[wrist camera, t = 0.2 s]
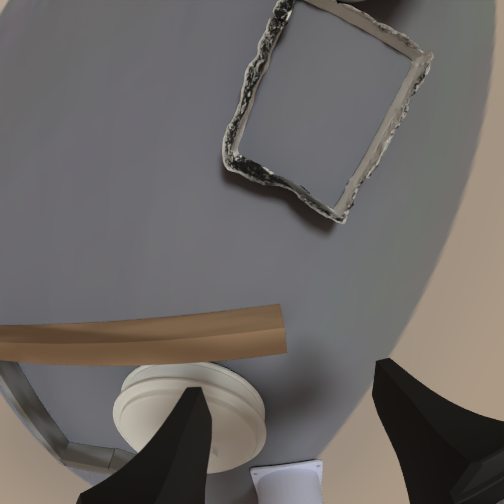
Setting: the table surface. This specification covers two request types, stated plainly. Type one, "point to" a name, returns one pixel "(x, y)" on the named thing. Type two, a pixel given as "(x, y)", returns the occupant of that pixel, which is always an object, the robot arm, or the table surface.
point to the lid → (218, 400)
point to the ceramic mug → (350, 0)
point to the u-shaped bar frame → (127, 361)
